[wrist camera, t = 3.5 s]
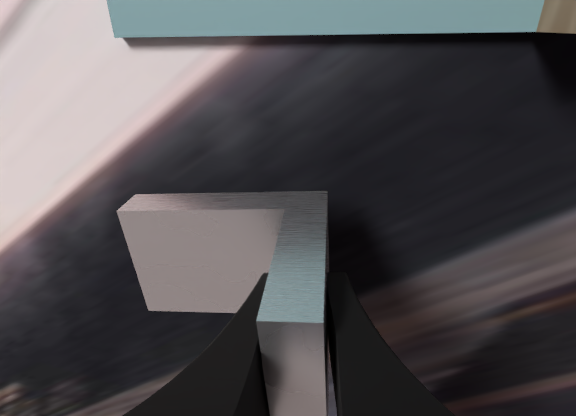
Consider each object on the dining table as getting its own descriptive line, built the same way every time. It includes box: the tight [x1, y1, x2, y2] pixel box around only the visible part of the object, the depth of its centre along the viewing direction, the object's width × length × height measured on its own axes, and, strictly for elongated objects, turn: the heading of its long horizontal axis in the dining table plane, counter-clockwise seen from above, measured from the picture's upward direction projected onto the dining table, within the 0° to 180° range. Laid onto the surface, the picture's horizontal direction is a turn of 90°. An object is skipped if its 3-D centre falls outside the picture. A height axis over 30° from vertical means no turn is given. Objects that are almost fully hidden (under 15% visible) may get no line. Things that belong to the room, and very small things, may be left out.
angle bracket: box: [117, 191, 329, 416], centre depth 13 cm, size 8×5×7 cm, turn 94°
